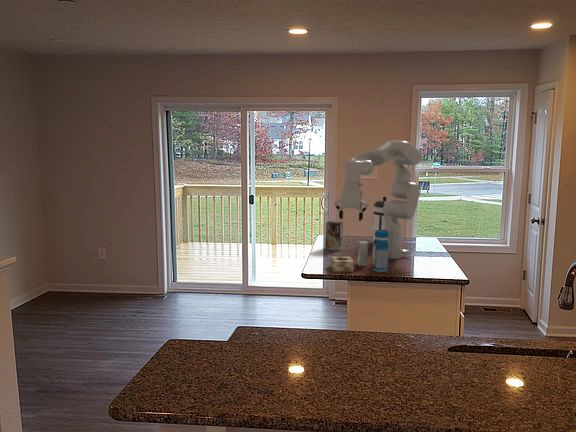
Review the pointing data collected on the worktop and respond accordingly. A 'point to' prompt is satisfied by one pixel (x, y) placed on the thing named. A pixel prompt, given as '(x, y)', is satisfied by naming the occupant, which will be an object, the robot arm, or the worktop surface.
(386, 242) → the beverage bottle
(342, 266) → the socket block
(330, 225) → the coffee box
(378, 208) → the coffee press
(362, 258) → the peg
